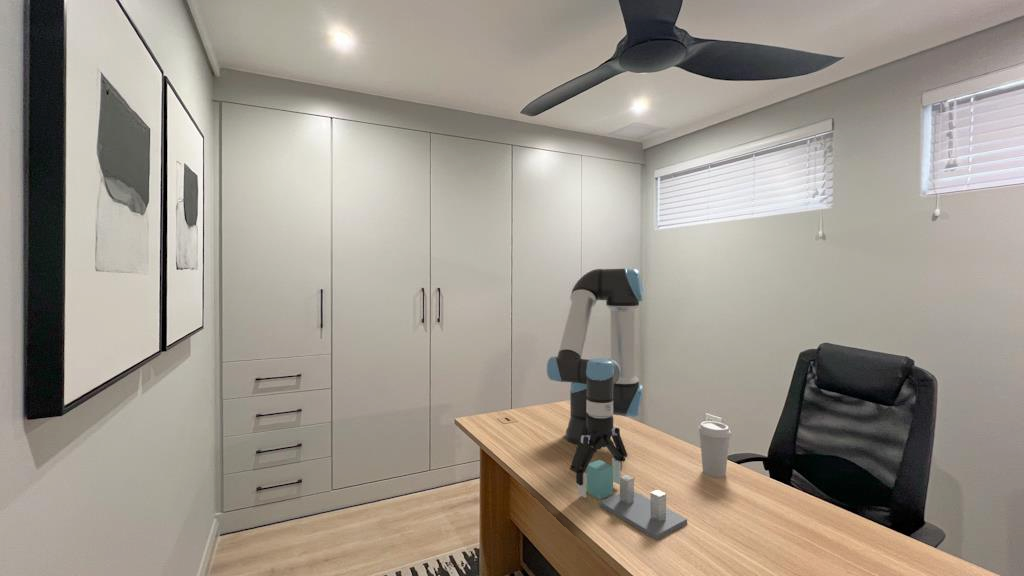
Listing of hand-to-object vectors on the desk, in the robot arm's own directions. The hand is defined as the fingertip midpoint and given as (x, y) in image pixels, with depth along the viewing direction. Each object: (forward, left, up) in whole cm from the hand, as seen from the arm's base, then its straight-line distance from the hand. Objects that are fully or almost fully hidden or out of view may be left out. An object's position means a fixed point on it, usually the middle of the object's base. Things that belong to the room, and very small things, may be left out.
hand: (599, 488), depth 121 cm
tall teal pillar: (0, 0, -1) cm, 1 cm away
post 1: (+9, +1, 0) cm, 9 cm away
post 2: (+19, +1, 0) cm, 19 cm away
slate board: (+14, +1, -1) cm, 14 cm away
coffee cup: (+11, +39, -2) cm, 41 cm away
